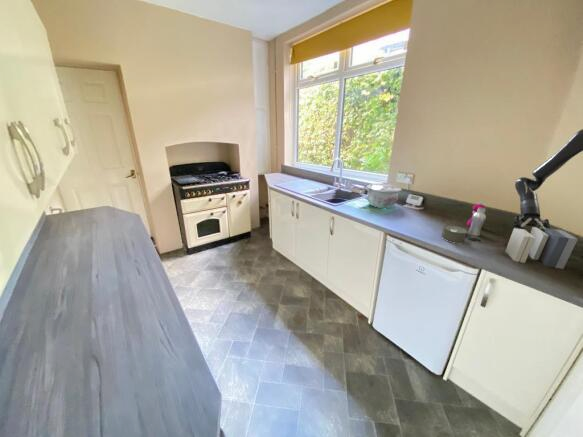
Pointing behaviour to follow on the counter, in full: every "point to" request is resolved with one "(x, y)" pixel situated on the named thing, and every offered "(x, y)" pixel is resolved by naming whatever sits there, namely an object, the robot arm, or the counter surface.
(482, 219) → the plastic bottle
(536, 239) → the white book
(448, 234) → the can
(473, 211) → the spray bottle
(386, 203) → the chamber pot
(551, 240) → the grey books
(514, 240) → the white books
